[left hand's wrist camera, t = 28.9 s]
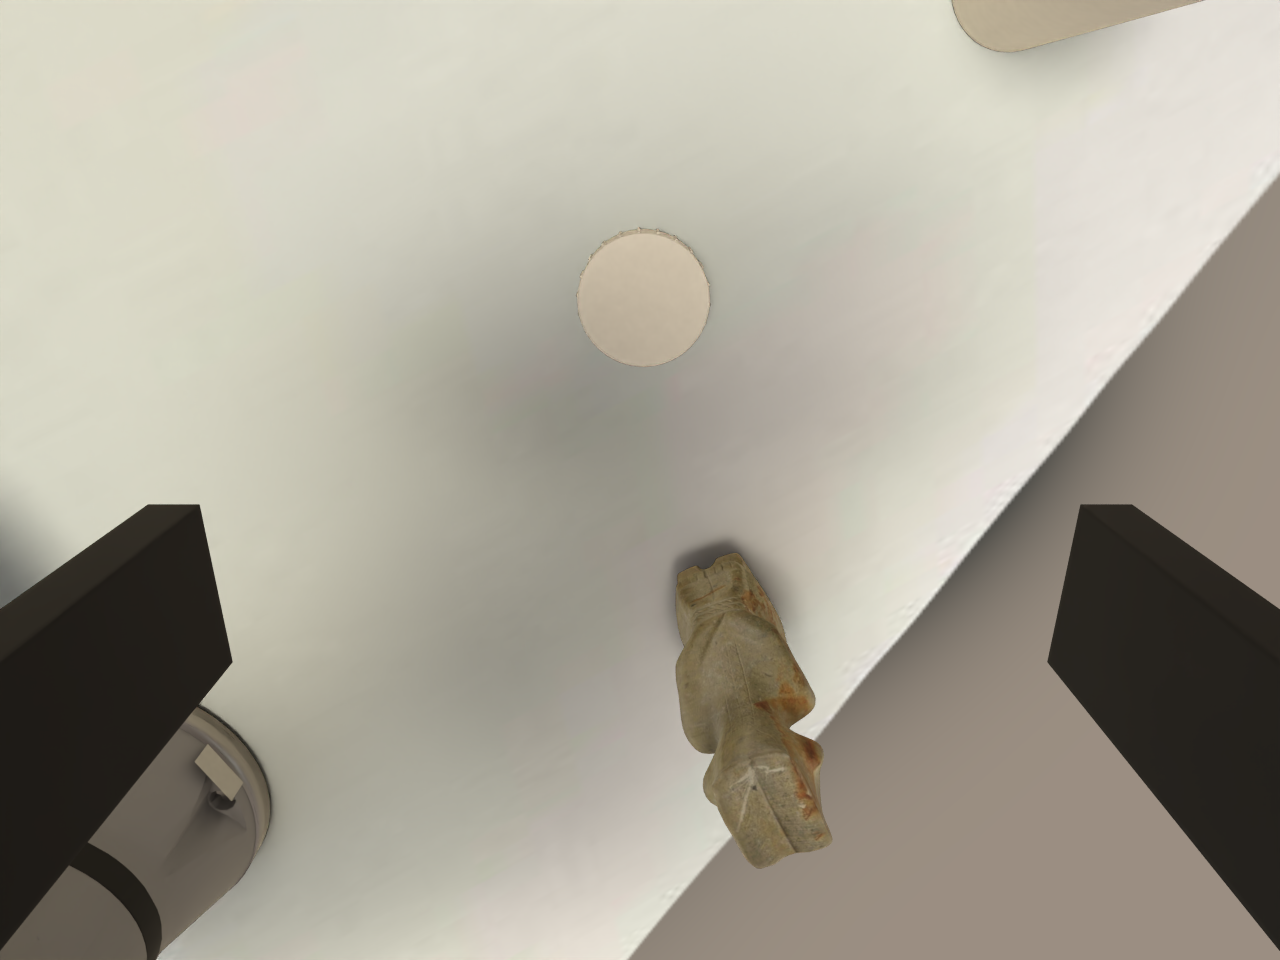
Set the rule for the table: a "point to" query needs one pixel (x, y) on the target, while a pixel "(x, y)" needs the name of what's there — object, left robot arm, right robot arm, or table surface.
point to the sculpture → (748, 713)
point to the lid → (643, 298)
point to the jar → (1047, 19)
